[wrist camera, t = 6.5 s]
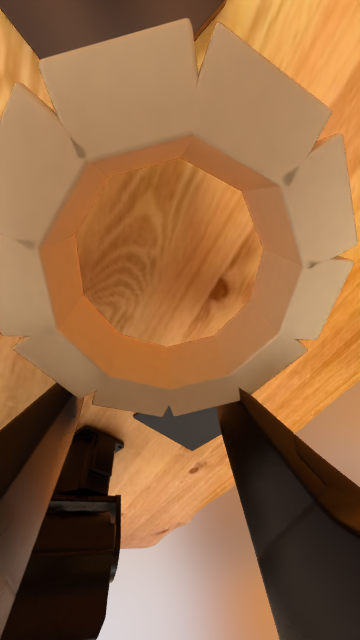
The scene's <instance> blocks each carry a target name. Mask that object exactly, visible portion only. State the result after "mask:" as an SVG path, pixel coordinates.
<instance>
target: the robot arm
mask: <svg viewBox="0 0 360 640" xmlns="http://www.w3.org/2000/svg"><path fill="white" fill-rule="evenodd" d="M239 394H240V400H239V401H236V402H232V403H228V404H224V405H219V406H216V409H217V415H218V421H219V426H220V430H221V433H222V437H223V440H224V444H225V447H226V451H227V454H228V458H229V461H230V465H231V469H232V472H233V476H234V479H235V483H236V486H237V490H238V493H239V496H240V500H241V504H242V507H243V511H244V515H245V518H246V522H247V525H248V529H249V532H250V535H251V539H252V543H253V546H254V550H255V554H256V557H257V561H258V564H259V568H260V572H261V575H262V579H263V582H264V586H265V589H266V593H267V596H268V600H269V604H270V607H271V611H272V614H273V618H274V621H275V625H276V628H277V632H278V636H279V639H280V640H360V487H359V486H357V485H356V484H355V483H354V482H352V481H351V480H350V479H348V478H347V477H346V476H345V475H343V474H342V473H341V472H340V471H338V470H337V469H336V468H335V467H333V466H332V465H331V464H329V463H328V462H327V461H326V460H325V459H323V458H322V457H321V456H320V455H318V454H317V453H316V452H315V451H314V450H313V449H311V448H310V447H309V446H308V445H307V444H306V443H304V442H303V441H302V440H301V439H300V438H299V437H298V436H296V435H295V434H294V433H293V432H292V431H291V430H290V429H289V428H287V427H286V426H285V425H284V424H283V423H282V422H281V421H280V420H278V419H277V418H276V417H275V416H274V415H273V414H272V413H271V412H269V411H268V410H267V409H266V408H265V407H264V406H263V405H262V404H260V403H259V402H258V401H257V400H256V399H255V398H254V397H253V396H251V395H250V394H249V393H247V392H245V391H244V390H242V389H241V388H239ZM83 399H84V397H83V398H81V399H79V398H77V397H76V396H75V395H73V394H72V393H71V392H69V391H68V390H67V389H65V388H64V387H63V386H61V385H60V384H59V383H55V384H54V385H53V386H52V387H51V388H50V389H48V390H47V391H46V392H45V393H44V394H43V395H41V396H40V397H39V398H38V399H37V400H35V401H34V402H33V403H32V404H31V405H30V406H28V407H27V408H26V409H25V410H24V411H22V412H21V413H20V414H19V415H18V416H17V417H15V418H14V419H13V420H12V421H11V422H9V423H8V424H7V425H6V426H5V427H4V428H2V429H1V430H0V640H96V639H97V637H98V635H99V633H100V630H101V627H102V625H103V622H104V620H105V615H106V606H107V597H108V590H109V583H111V582H112V581H113V579H114V576H115V573H116V569H117V565H118V559H119V551H120V539H121V495H115V496H108V490H109V483H110V477H111V475H112V469H113V461H114V454H115V453H116V452H118V451H119V450H121V449H122V448H124V443H123V442H121V441H119V440H117V439H115V438H113V437H111V436H109V435H107V434H104V433H102V432H100V431H98V430H96V429H94V428H92V427H90V426H83V427H81V428H80V429H79V430H77V431H76V432H75V430H76V427H77V424H78V420H79V416H80V412H81V408H82V403H83Z"/></svg>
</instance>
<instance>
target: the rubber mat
mask: <svg viewBox="0 0 360 640" xmlns="http://www.w3.org/2000/svg"><path fill="white" fill-rule="evenodd" d="M133 418H135V419H136V420H138V421H140V422H142V423H144V424H145V425H147V426H149V427H151V428H152V429H154V430H156V431H158V432H159V433H161V434H163V435H165V436H167V437H168V438H170V439H172V440H174V441H175V442H177V443H179V444H181V445H182V446H184V447H186V448H188V449H190V450H191V451H193V450H195V449H197V448H198V447H200V446H202V445H204V444H205V443H207V442H209V441H210V440H212V439H214V438H216V437H217V436H219V435H221V434H222V433H221V430H220V426H219V421H218V415H217V409H216V406H215V407H211V408H207V409H203V410H199V411H195V412H191V413H187V414H182V415H178V416H173V413H172V411H171V408H170V406H168V408H167V410H166V411H165V413H164V415H163V416H162V417H159V416H154V415H148V414H143V413H136V414H134V415H133Z"/></svg>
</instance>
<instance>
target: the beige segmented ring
mask: <svg viewBox="0 0 360 640" xmlns="http://www.w3.org/2000/svg"><path fill="white" fill-rule="evenodd" d="M38 64H39V70H40V73H41V75H42V78H43V80H44V83H45V85H46V88H47V91H48V93H49V96H50V98H51V101H52V103H53V106H54V109H55V111H56V113H55V112H54V111H53V110H52V109H51V108H49V107H48V106H47V105H46V104H45V103H44V102H43V101H42V100H41V99H39V98H38V97H37V96H36V95H35V94H34V93H33V92H32V91H30V90H29V89H28V88H27V87H26V86H25V85H24V84H21V83H19V82H17V83H16V84H15V85H14V87H13V89H12V92H11V94H10V97H9V99H8V102H7V104H6V107H5V110H4V112H3V115H2V117H1V120H0V332H1V334H2V336H24V337H23V338H22V339H21V340H20V341H19V342H18V343H17V344H16V345H15V346H14V347H13V350H14V351H16V352H17V353H18V354H20V355H21V356H22V357H24V358H25V359H26V360H28V361H29V362H31V363H32V364H33V365H35V366H36V367H37V368H39V369H40V370H41V371H43V372H44V373H45V374H47V375H48V376H49V377H51V378H52V379H53V380H55V381H56V382H57V383H59V384H60V385H61V386H63V387H64V388H65V389H67V390H68V391H69V392H71V393H72V394H73V395H75V396H76V397H77V398H79V399H81V398H83V397H85V396H87V395H89V394H90V393H92V392H94V391H95V394H94V398H93V401H92V404H93V405H98V406H104V407H109V408H115V409H120V410H126V411H132V412H137V413H143V414H148V415H154V416H159V417H162V416H163V415H164V413H165V411H166V410H167V408H168V406H170V408H171V411H172V413H173V416H178V415H182V414H187V413H191V412H195V411H199V410H203V409H207V408H211V407H215V406H219V405H224V404H228V403H232V402H236V401H239V400H240V394H239V388H241V389H242V390H244V391H245V392H247V393H249V394H253V393H254V392H255V391H256V390H258V389H259V388H260V387H262V386H263V385H264V384H266V383H267V382H268V381H269V380H271V379H272V378H273V377H275V376H276V375H277V374H279V373H280V372H281V371H282V370H284V369H285V368H286V367H288V366H289V365H290V364H292V363H293V362H294V361H295V360H297V359H298V358H299V357H301V356H302V355H303V354H305V353H306V352H307V348H306V347H305V346H304V345H303V344H302V343H301V342H300V341H299V340H317V339H318V337H319V335H320V333H321V331H322V329H323V327H324V325H325V323H326V320H327V318H328V316H329V314H330V312H331V310H332V308H333V306H334V304H335V302H336V300H337V298H338V295H339V293H340V291H341V289H342V287H343V285H344V283H345V281H346V279H347V277H348V275H349V272H350V270H351V268H352V266H353V264H354V262H353V261H352V260H350V259H347V258H343V257H340V256H338V255H340V254H341V253H343V252H345V251H347V250H349V249H350V248H352V247H354V246H356V245H357V242H358V241H357V234H356V226H355V219H354V212H353V204H352V197H351V190H350V182H349V175H348V168H347V160H346V153H345V146H344V138H343V135H342V134H341V133H339V134H335V135H332V136H330V137H327V138H324V139H322V140H319V141H317V139H318V137H319V136H320V134H321V132H322V130H323V128H324V127H325V125H326V123H327V121H328V119H329V118H330V116H331V114H332V110H331V109H330V108H328V107H327V106H326V105H325V104H323V103H322V102H321V101H320V100H318V99H317V98H316V97H314V96H313V95H312V94H311V93H309V92H308V91H307V90H306V89H304V88H303V87H302V86H300V85H299V84H298V83H297V82H295V81H294V80H293V79H292V78H290V77H289V76H288V75H286V74H285V73H284V72H283V71H281V70H280V69H279V68H278V67H276V66H275V65H274V64H272V63H271V62H270V61H269V60H267V59H266V58H265V57H264V56H262V55H261V54H260V53H258V52H257V51H256V50H255V49H253V48H252V47H251V46H250V45H248V44H247V43H246V42H245V41H243V40H242V39H241V38H239V37H238V36H237V35H236V34H234V33H233V32H232V31H231V30H229V29H228V28H227V27H225V26H224V25H223V24H222V23H220V22H218V23H217V24H216V25H215V28H214V31H213V33H212V36H211V39H210V42H209V45H208V48H207V51H206V54H205V57H204V60H203V62H202V65H201V68H200V71H199V74H198V68H197V60H196V52H195V45H194V37H193V29H192V25H191V22H190V19H188V18H184V19H180V20H177V21H173V22H170V23H166V24H163V25H159V26H156V27H152V28H149V29H145V30H142V31H138V32H135V33H131V34H128V35H124V36H121V37H117V38H114V39H110V40H107V41H103V42H100V43H96V44H93V45H89V46H86V47H82V48H79V49H75V50H72V51H68V52H65V53H61V54H58V55H54V56H51V57H47V58H44V59H41V60H40V61H39V62H38ZM177 158H182V159H184V160H186V161H188V162H189V163H191V164H193V165H195V166H197V167H198V168H200V169H202V170H204V171H206V172H207V173H209V174H211V175H213V176H215V177H217V178H218V179H220V180H222V181H224V182H226V183H227V184H229V185H231V186H233V187H235V188H237V189H238V190H240V191H242V194H243V197H244V199H245V202H246V205H247V207H248V210H249V213H250V215H251V218H252V221H253V223H254V226H255V229H256V231H257V234H258V237H259V239H260V242H261V245H262V247H263V251H262V255H261V259H260V262H259V266H258V270H257V274H256V277H255V281H254V285H253V289H252V292H251V296H250V300H249V302H248V303H247V304H246V305H245V306H244V307H243V308H242V309H241V310H240V311H239V312H238V313H237V314H236V315H235V316H233V317H232V318H231V319H230V320H229V321H228V322H227V323H226V324H225V325H224V326H223V327H222V328H221V329H220V330H219V331H218V332H217V333H216V334H215V335H213V336H209V337H205V338H201V339H197V340H193V341H189V342H185V343H181V344H177V345H173V346H169V347H165V346H161V345H158V344H154V343H150V342H147V341H143V340H140V339H136V338H132V337H129V336H125V335H122V334H120V333H119V332H118V331H117V330H116V329H115V328H114V327H113V326H112V325H111V324H110V323H109V322H108V321H107V320H106V318H105V317H104V316H103V315H102V314H101V313H100V312H99V311H98V310H97V309H96V308H95V307H94V306H93V304H92V303H91V302H90V301H89V300H88V299H87V298H86V297H85V296H84V294H83V287H82V280H81V273H80V266H79V258H78V251H77V244H76V237H75V234H76V232H77V231H78V229H79V227H80V226H81V224H82V223H83V221H84V219H85V218H86V216H87V214H88V213H89V211H90V209H91V208H92V206H93V205H94V203H95V201H96V200H97V198H98V196H99V195H100V193H101V191H102V190H103V188H104V187H105V185H106V183H107V182H108V180H109V178H110V177H111V176H114V175H117V174H121V173H125V172H129V171H132V170H136V169H140V168H143V167H147V166H151V165H154V164H158V163H162V162H165V161H169V160H173V159H177Z"/></svg>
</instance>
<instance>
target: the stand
mask: <svg viewBox="0 0 360 640" xmlns="http://www.w3.org/2000/svg"><path fill="white" fill-rule="evenodd" d="M226 1H227V0H0V8H1V10H2V11H3V12H4V14H5V15H6V16H7V17H8V19H9V20H10V21H11V23H12V24H13V25H14V26H15V28H16V29H17V30H18V32H19V33H20V34H21V35H22V37H23V38H24V39H25V40H26V42H27V43H28V44H29V46H30V47H31V48H32V49H33V51H34V52H35V53H36V55H37V56H38V57H39V58H40V60H41V59H44V58H47V57H51V56H54V55H58V54H61V53H65V52H68V51H72V50H75V49H79V48H82V47H86V46H89V45H93V44H96V43H100V42H103V41H107V40H110V39H114V38H117V37H121V36H124V35H128V34H131V33H135V32H138V31H142V30H145V29H149V28H152V27H156V26H159V25H163V24H166V23H170V22H173V21H177V20H180V19H184V18H188V19H190V22H191V25H192V29H193V37H194V41H195V39H196V38H197V37H198V36H199V35H200V34H201V33H202V31H203V30H204V29H205V28H206V27H207V26H208V24H209V23H210V22H211V21H212V20H213V19H214V17H215V16H216V15H217V14H218V13H219V12H220V11H221V9H222V8H223V7H224V6H225V3H226Z"/></svg>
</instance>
